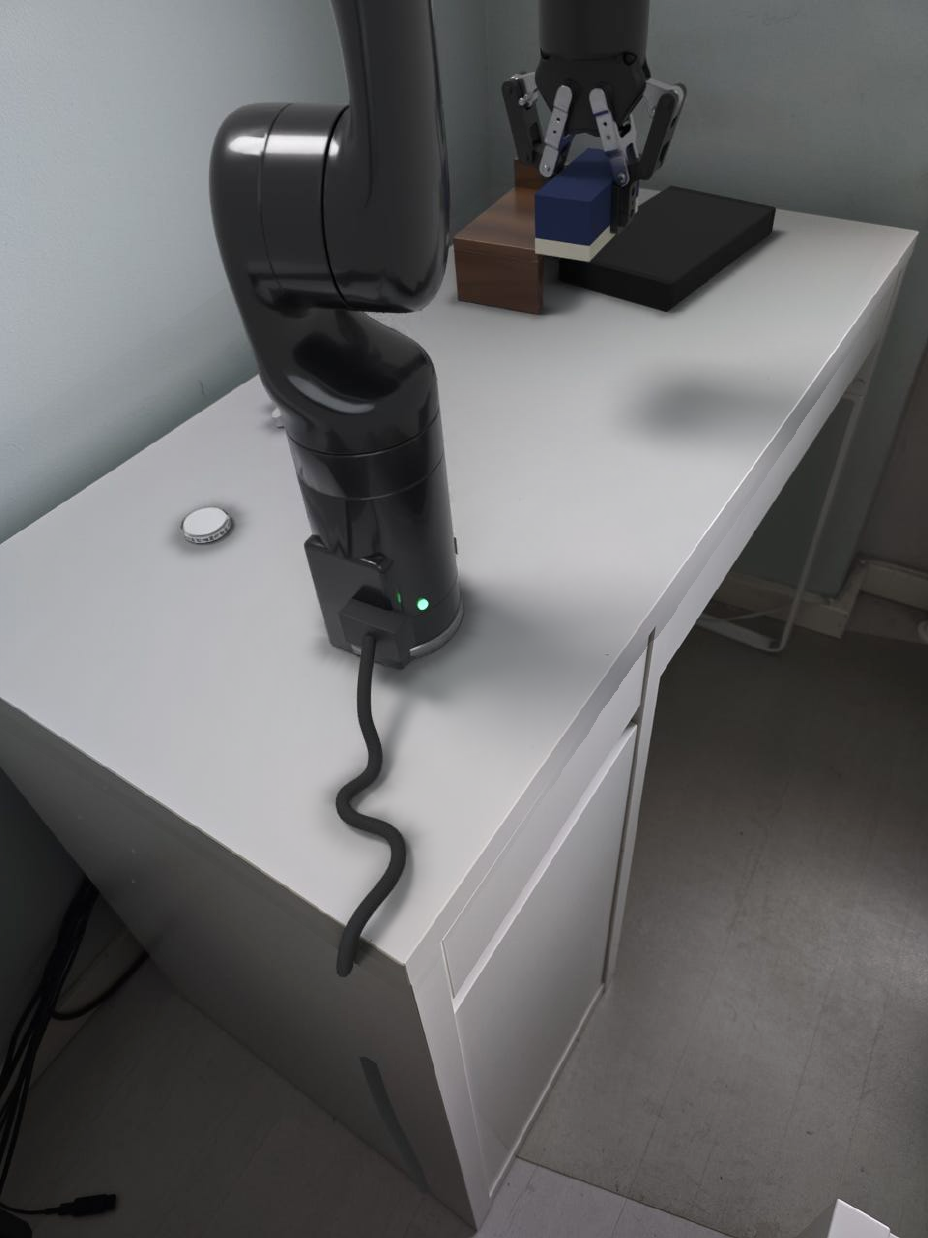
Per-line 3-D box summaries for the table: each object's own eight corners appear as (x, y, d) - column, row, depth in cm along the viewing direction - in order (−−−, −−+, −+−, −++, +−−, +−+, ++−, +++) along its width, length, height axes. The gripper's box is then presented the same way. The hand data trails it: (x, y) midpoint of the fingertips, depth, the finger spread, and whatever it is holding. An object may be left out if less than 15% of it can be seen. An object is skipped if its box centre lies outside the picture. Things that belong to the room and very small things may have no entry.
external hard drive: (558, 280, 99) (558, 254, 97) (667, 209, 110) (669, 184, 108) (668, 312, 92) (670, 284, 90) (772, 232, 103) (776, 206, 101)
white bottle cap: (235, 510, 74) (233, 504, 73) (225, 541, 71) (223, 535, 70) (188, 512, 74) (186, 506, 73) (177, 543, 71) (175, 538, 71)
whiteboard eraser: (589, 262, 67) (590, 201, 63) (534, 253, 68) (533, 193, 65) (637, 211, 72) (641, 152, 69) (586, 204, 74) (587, 147, 71)
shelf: (538, 314, 94) (537, 219, 87) (457, 300, 98) (450, 207, 90) (596, 253, 103) (599, 163, 96) (520, 242, 107) (518, 154, 100)
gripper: (472, -25, 58) (487, 232, 71) (679, -20, 53) (656, 258, 65) (522, -50, 63) (528, 197, 75) (718, -47, 57) (690, 218, 69)
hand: (588, 224), depth 70 cm, fingers closed on whiteboard eraser, 4 cm apart
